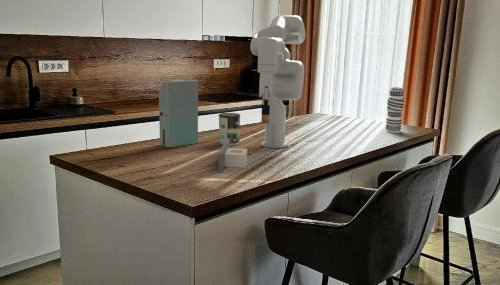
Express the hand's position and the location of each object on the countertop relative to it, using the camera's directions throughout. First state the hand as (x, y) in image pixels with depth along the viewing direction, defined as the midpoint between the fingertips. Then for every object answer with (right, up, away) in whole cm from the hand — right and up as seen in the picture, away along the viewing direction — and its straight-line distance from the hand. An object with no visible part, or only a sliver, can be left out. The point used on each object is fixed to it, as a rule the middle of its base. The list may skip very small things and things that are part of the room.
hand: (265, 113), depth 189 cm
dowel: (0, -4, +1) cm, 4 cm away
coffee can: (-17, -12, +34) cm, 40 cm away
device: (-40, -13, +28) cm, 51 cm away
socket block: (-12, -20, -6) cm, 24 cm away
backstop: (-8, -21, -6) cm, 24 cm away
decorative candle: (+76, -6, +75) cm, 107 cm away
